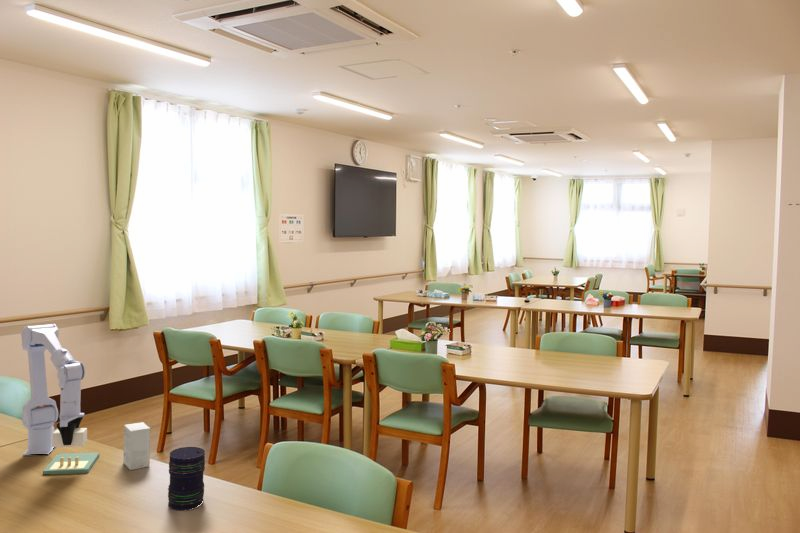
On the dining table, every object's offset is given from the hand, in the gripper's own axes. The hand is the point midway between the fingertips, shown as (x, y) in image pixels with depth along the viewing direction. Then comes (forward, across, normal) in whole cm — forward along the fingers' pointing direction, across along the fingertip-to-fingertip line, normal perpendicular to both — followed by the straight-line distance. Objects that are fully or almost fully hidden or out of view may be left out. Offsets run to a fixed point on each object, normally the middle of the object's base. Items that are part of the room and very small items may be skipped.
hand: (69, 442), depth 197 cm
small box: (+9, +2, -20) cm, 22 cm away
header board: (+9, +4, 0) cm, 10 cm away
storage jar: (+9, -30, -39) cm, 50 cm away
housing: (+1, 0, 0) cm, 1 cm away
